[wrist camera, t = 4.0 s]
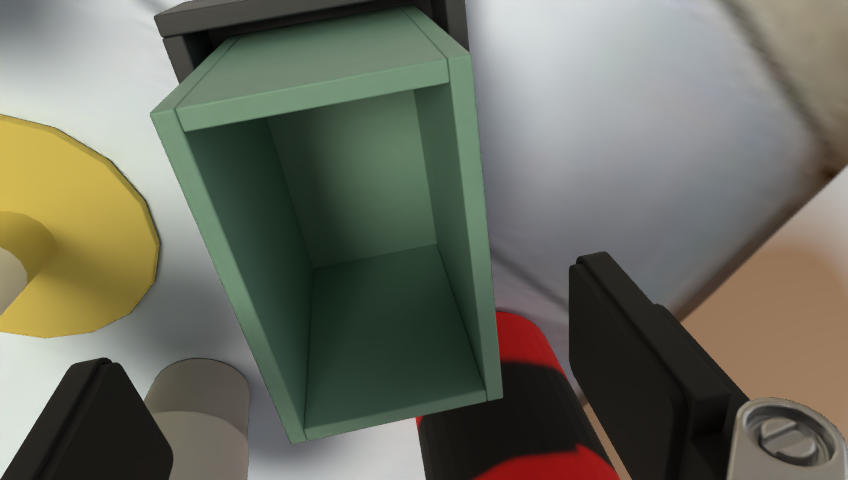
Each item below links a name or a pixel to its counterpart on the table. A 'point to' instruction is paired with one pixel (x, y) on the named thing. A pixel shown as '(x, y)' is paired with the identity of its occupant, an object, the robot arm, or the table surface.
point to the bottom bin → (274, 22)
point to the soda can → (517, 422)
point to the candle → (67, 235)
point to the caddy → (345, 214)
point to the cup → (203, 419)
